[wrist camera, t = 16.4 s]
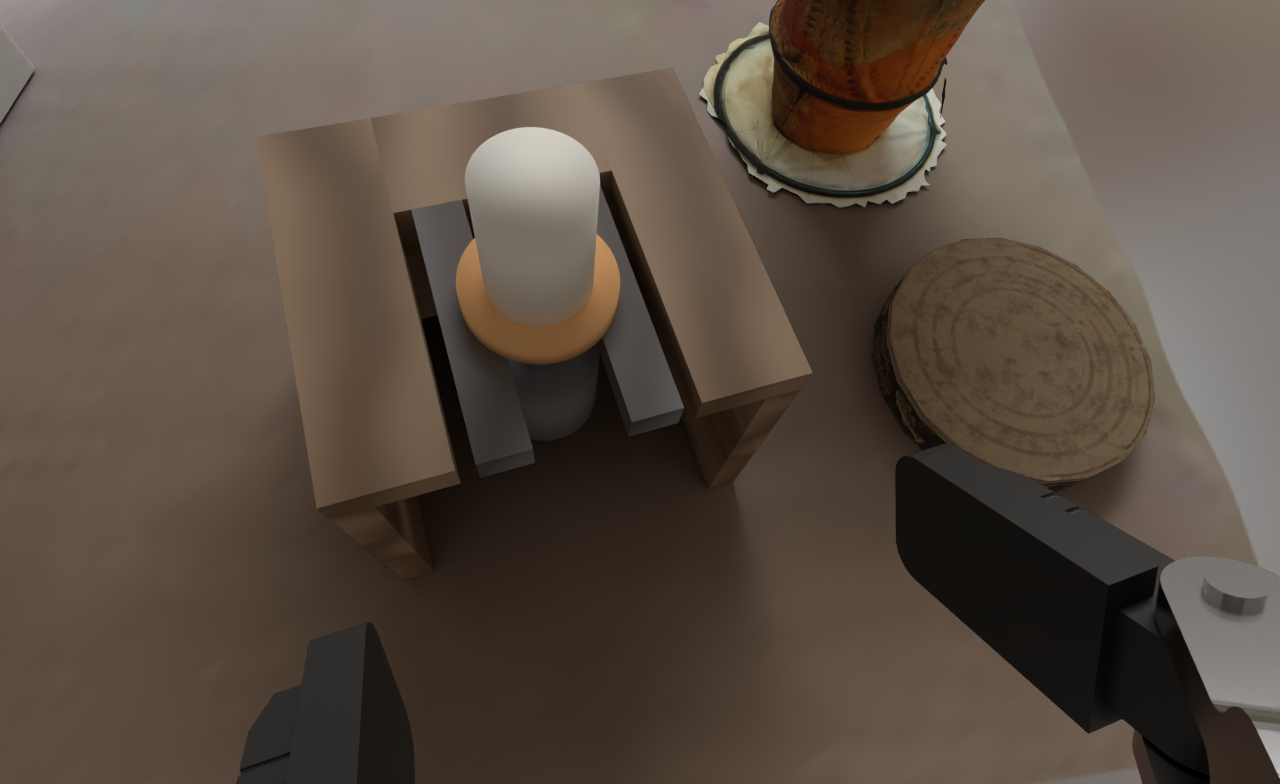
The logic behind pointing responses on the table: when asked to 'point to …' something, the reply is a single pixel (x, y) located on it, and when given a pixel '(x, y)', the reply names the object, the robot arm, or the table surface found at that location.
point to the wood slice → (1013, 362)
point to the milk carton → (11, 72)
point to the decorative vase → (839, 95)
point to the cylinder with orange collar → (539, 272)
